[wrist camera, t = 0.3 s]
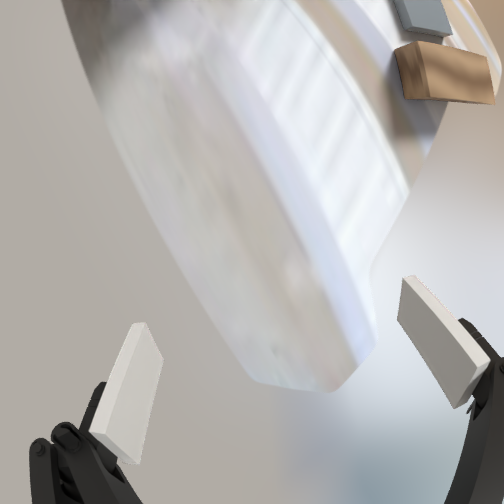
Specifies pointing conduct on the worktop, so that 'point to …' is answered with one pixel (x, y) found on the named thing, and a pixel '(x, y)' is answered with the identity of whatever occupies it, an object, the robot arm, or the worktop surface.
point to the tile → (424, 17)
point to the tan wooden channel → (444, 74)
